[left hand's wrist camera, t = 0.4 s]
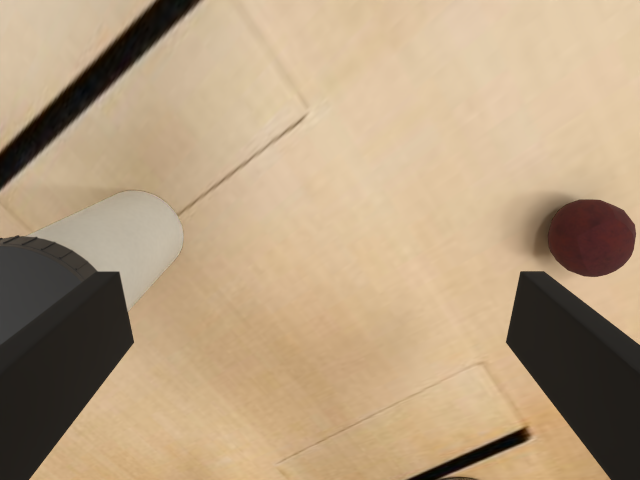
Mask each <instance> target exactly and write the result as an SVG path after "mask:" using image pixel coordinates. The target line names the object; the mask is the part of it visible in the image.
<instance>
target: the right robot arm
mask: <svg viewBox="0 0 640 480" xmlns="http://www.w3.org/2000/svg"><path fill="white" fill-rule="evenodd" d="M445 480H474V479H467V478H452V479H445Z"/></svg>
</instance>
